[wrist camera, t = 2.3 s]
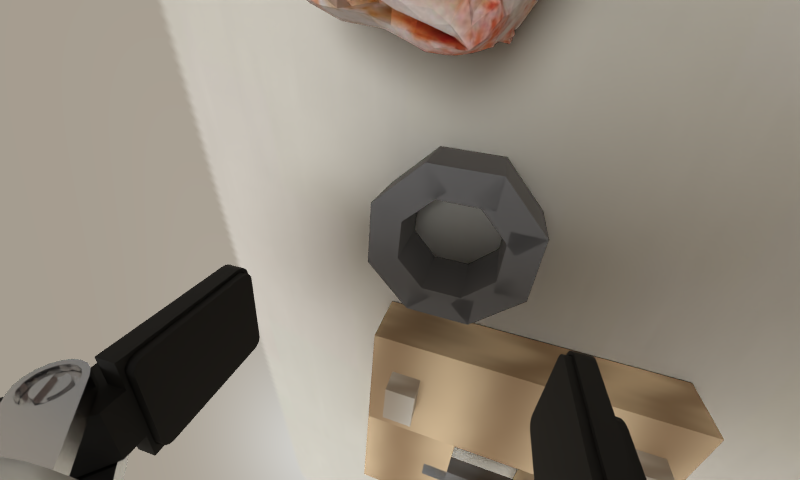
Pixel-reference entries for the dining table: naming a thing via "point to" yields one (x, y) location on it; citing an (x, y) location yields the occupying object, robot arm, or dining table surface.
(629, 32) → the dining table surface
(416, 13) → the food item
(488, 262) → the faceted grey ring
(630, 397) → the toggle switch panel
